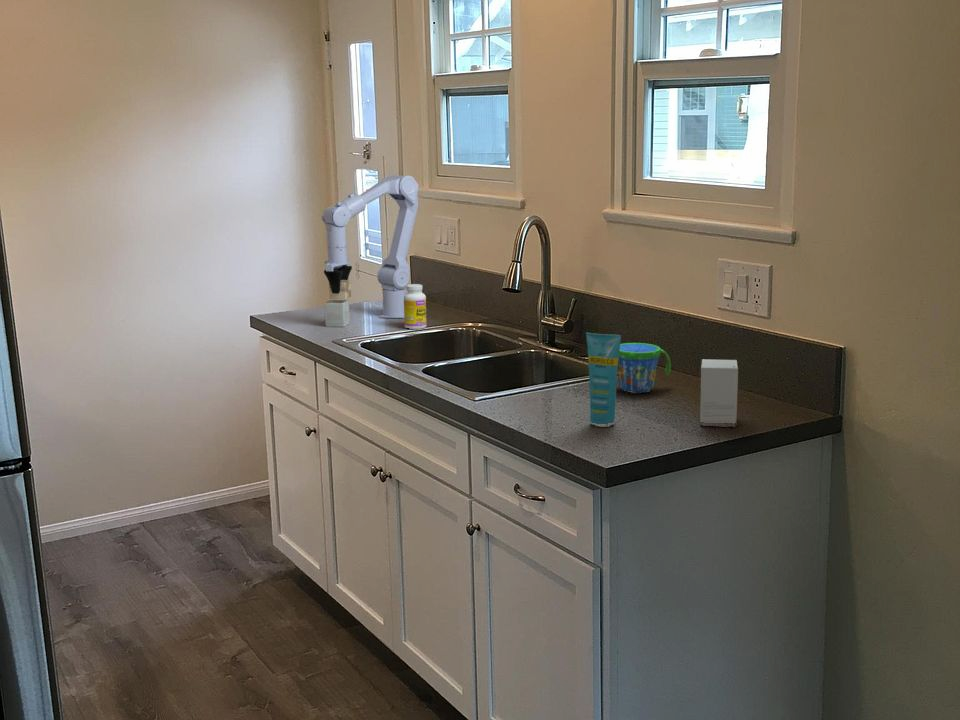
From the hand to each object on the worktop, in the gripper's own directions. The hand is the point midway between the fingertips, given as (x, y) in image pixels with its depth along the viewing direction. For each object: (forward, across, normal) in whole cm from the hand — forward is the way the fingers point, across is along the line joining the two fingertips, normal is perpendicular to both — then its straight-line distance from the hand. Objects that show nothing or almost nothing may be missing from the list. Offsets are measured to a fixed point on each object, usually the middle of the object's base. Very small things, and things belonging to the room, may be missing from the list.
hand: (339, 291), depth 318 cm
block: (+2, 0, 0) cm, 2 cm away
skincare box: (+11, 0, -1) cm, 11 cm away
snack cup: (+11, +60, +95) cm, 113 cm away
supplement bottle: (+11, 0, +24) cm, 26 cm away
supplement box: (+11, +82, +114) cm, 141 cm away
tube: (+11, +88, +91) cm, 127 cm away
